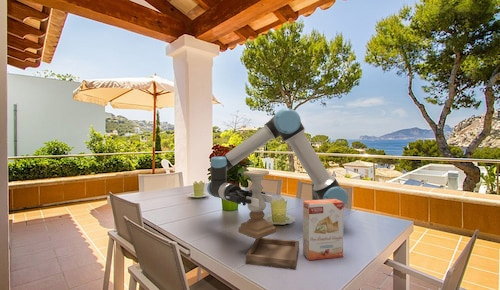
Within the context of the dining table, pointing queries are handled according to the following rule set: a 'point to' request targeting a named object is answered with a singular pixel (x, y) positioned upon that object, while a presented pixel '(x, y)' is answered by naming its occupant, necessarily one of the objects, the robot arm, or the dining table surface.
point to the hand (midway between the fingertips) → (265, 201)
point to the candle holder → (257, 209)
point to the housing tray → (273, 253)
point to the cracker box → (323, 228)
